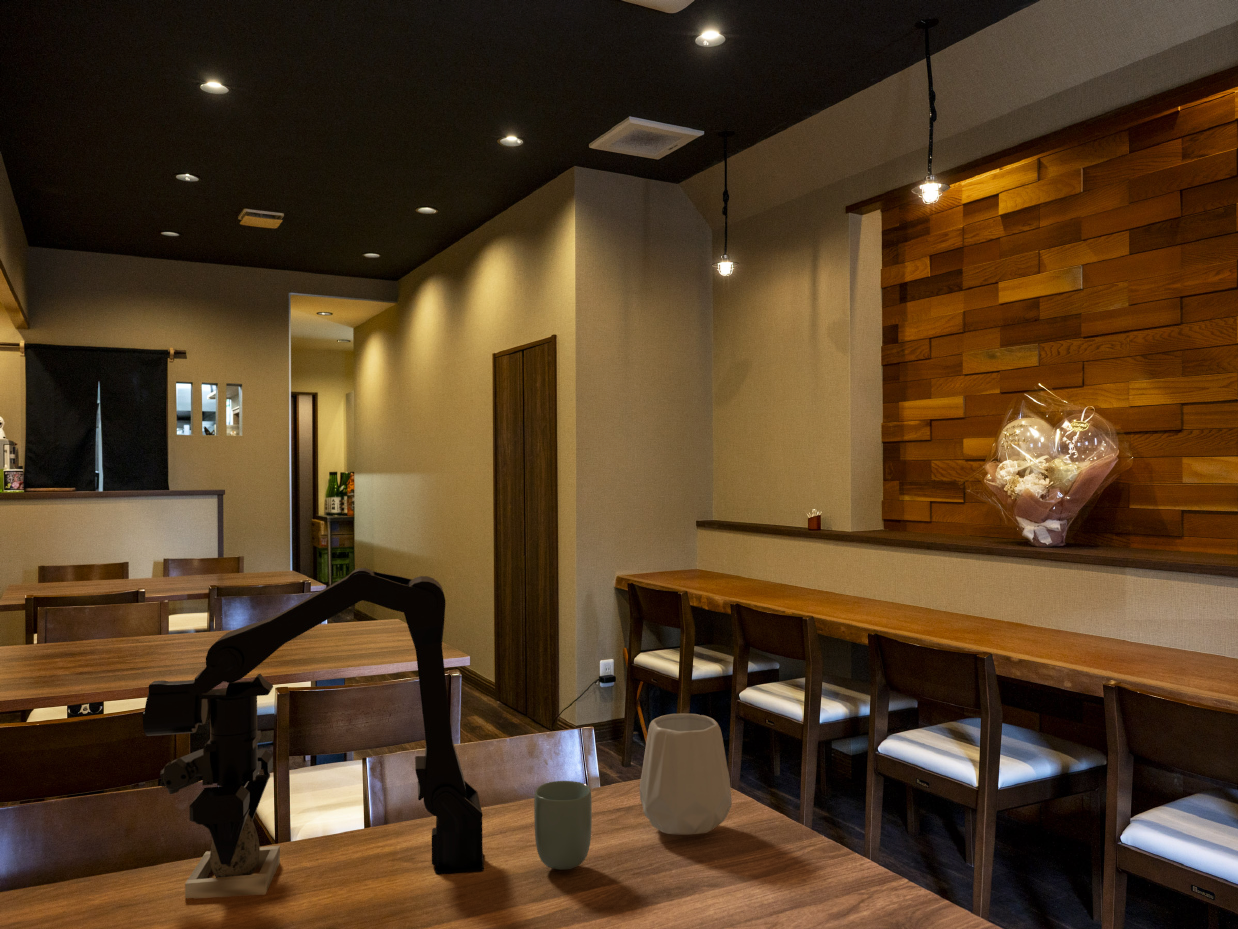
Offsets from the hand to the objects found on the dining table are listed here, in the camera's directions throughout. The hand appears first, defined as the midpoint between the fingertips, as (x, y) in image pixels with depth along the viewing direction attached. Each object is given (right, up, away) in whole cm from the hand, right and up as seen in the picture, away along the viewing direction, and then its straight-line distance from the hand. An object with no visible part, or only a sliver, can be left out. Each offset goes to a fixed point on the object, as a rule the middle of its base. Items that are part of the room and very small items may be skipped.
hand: (234, 848), depth 118 cm
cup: (+43, -4, +5) cm, 43 cm away
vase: (+60, -4, +20) cm, 64 cm away
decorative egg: (0, -5, 0) cm, 5 cm away
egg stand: (0, -5, 0) cm, 4 cm away
